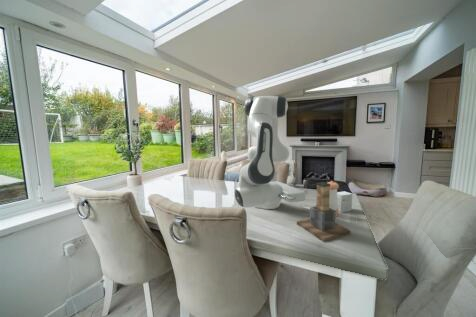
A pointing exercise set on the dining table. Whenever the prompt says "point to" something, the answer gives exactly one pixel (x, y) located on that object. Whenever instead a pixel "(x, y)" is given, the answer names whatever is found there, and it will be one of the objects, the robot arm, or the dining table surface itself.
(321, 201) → the oak post
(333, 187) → the pepper shaker
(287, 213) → the dining table surface
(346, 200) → the small box
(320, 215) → the sleeve stand
